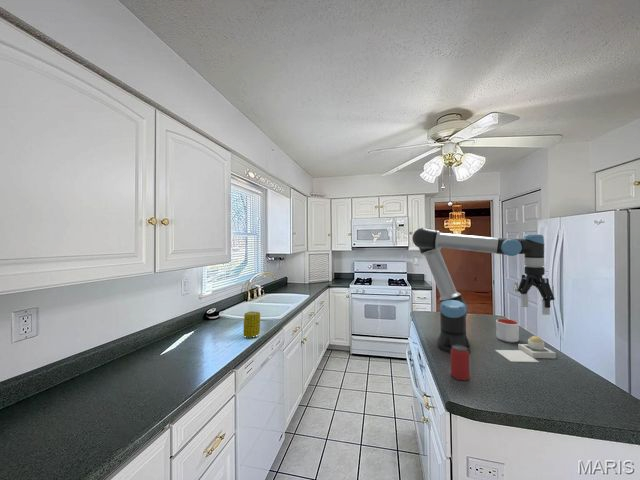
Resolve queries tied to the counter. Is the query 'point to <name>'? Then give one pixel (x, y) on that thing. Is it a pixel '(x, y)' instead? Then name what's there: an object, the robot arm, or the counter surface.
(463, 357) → the beer can
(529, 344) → the dome
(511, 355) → the pad
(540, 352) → the dome base
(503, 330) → the cup
